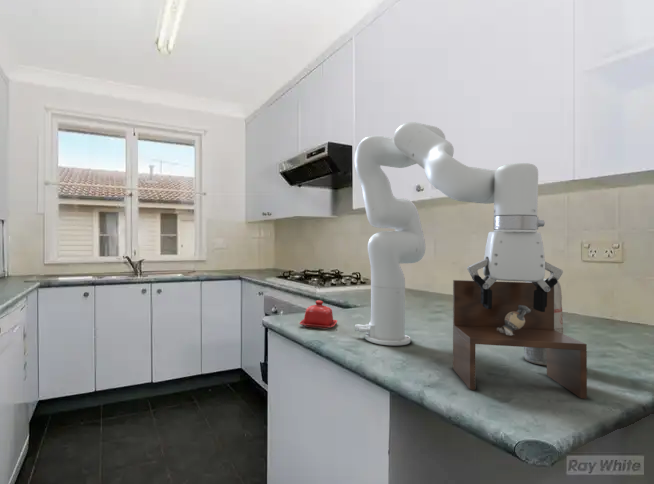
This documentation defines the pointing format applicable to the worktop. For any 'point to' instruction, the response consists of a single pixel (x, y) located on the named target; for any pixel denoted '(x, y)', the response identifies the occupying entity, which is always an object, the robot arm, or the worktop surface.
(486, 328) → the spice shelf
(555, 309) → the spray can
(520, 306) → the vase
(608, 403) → the worktop surface
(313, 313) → the butter dish
